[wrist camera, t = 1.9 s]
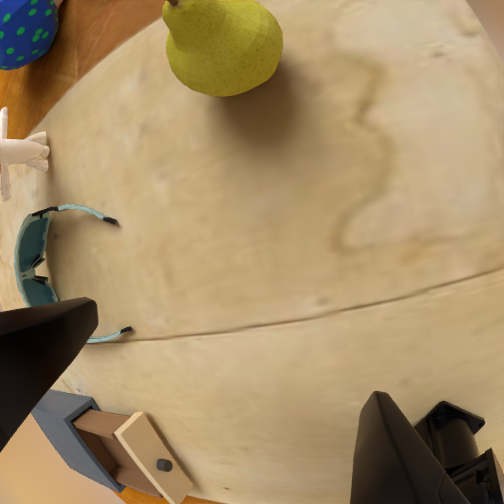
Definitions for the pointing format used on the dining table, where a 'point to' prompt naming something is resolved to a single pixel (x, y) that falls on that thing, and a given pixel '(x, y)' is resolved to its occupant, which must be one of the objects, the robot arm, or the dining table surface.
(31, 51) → the polka dot ball
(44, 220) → the sunglasses
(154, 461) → the drawer
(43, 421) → the cabinet
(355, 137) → the dining table surface
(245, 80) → the fruit
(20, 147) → the figurine
